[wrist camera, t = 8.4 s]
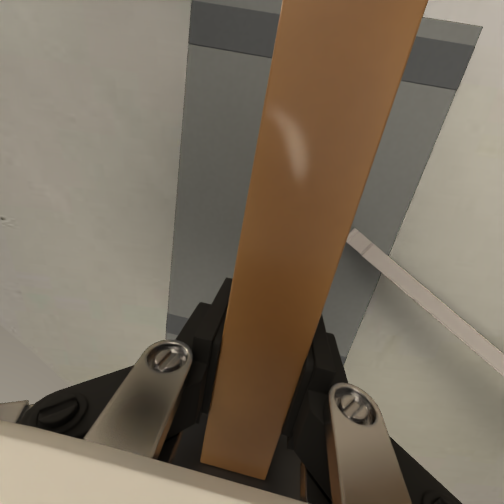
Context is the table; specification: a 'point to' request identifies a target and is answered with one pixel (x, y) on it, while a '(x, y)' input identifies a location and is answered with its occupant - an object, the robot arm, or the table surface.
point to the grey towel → (245, 140)
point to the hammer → (297, 223)
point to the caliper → (427, 300)
